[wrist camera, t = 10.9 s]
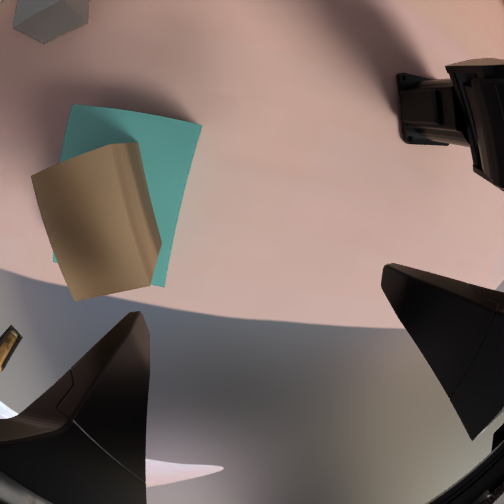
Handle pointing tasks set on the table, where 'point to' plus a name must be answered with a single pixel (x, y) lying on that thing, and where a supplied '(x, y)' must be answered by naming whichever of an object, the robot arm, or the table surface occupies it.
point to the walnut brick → (100, 220)
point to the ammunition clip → (8, 345)
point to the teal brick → (153, 158)
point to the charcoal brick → (49, 17)
